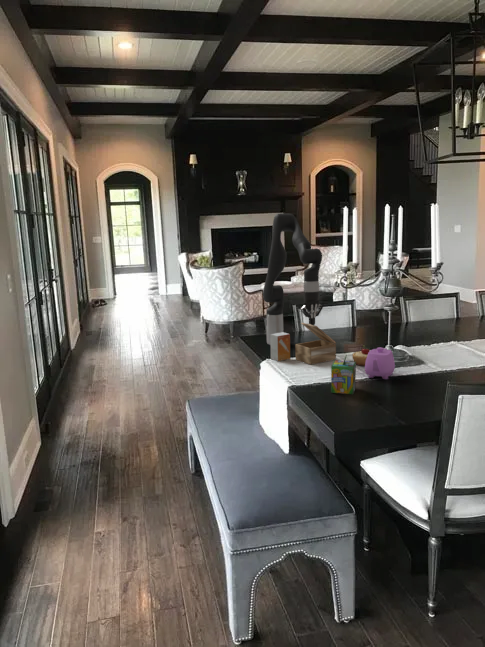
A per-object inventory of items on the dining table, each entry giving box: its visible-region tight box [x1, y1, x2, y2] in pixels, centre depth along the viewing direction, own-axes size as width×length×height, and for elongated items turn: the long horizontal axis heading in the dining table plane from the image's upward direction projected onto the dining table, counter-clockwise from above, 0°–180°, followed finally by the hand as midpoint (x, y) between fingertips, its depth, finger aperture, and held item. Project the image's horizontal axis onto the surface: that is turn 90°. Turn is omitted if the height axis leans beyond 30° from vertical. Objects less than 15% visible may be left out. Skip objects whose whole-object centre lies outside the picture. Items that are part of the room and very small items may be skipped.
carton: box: [294, 339, 337, 365], centre depth 263 cm, size 12×16×8 cm
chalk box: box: [330, 354, 357, 395], centre depth 214 cm, size 9×9×15 cm
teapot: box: [364, 346, 396, 380], centre depth 232 cm, size 20×12×13 cm, turn 153°
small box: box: [269, 331, 291, 362], centre depth 267 cm, size 8×6×13 cm
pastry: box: [352, 345, 371, 367], centre depth 253 cm, size 12×12×9 cm
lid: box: [300, 322, 337, 344], centre depth 263 cm, size 12×16×1 cm
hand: (312, 325), depth 260 cm, fingers closed
